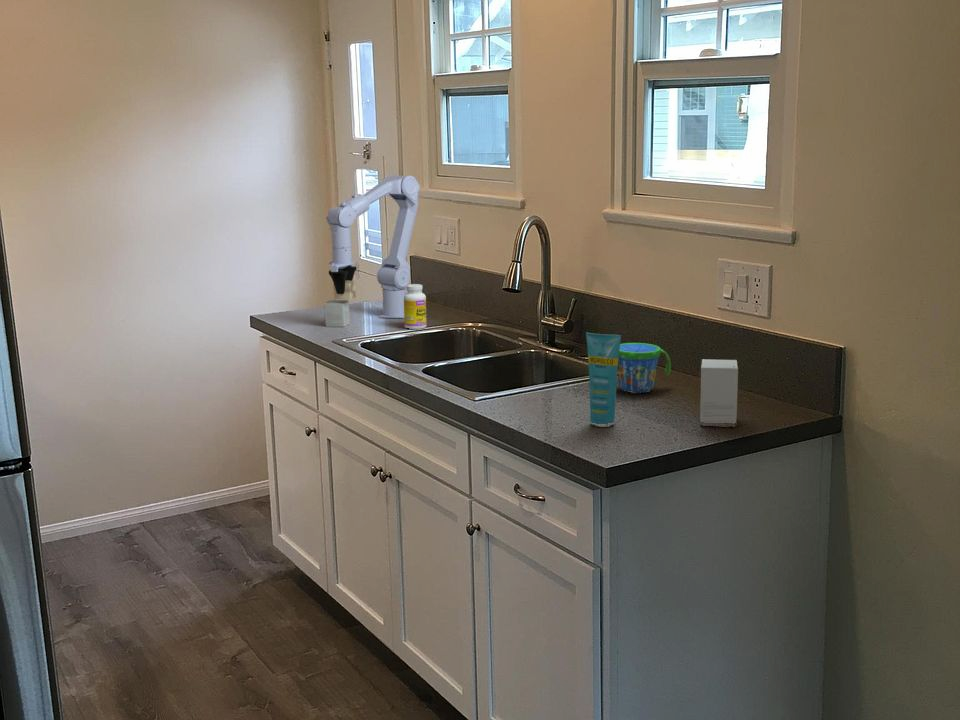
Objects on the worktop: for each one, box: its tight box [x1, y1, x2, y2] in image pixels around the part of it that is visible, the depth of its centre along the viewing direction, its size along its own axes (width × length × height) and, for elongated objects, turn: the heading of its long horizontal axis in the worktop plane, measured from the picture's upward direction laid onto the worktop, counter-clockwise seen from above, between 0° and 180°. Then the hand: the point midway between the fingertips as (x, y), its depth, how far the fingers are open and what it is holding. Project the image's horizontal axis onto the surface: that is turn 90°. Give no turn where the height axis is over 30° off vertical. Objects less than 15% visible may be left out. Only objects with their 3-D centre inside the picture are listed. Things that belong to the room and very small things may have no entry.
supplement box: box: [699, 358, 739, 424], centre depth 215 cm, size 7×7×13 cm
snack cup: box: [617, 342, 672, 393], centre depth 240 cm, size 16×10×10 cm
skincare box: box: [323, 299, 351, 328], centre depth 320 cm, size 6×6×7 cm
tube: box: [585, 332, 622, 424], centre depth 214 cm, size 7×5×19 cm, turn 69°
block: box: [333, 280, 356, 301], centre depth 317 cm, size 5×5×5 cm
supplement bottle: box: [403, 283, 428, 330], centre depth 313 cm, size 7×7×13 cm
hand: (343, 292), depth 317 cm, fingers closed on block, 5 cm apart
